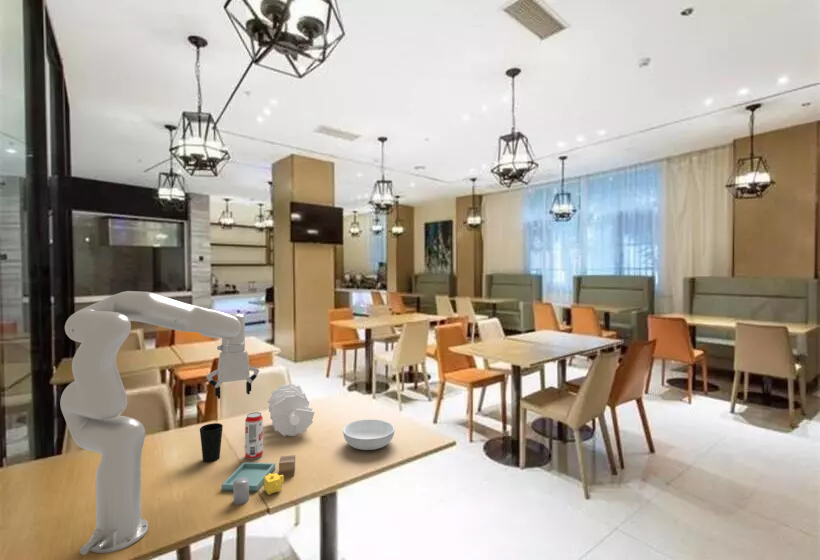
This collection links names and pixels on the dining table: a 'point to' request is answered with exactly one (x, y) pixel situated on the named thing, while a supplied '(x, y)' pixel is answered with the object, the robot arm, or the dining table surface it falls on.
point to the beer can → (254, 435)
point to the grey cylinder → (241, 491)
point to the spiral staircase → (290, 410)
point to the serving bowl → (368, 434)
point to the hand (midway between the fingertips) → (233, 395)
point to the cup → (211, 441)
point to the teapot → (273, 483)
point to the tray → (250, 475)
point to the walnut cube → (287, 465)
